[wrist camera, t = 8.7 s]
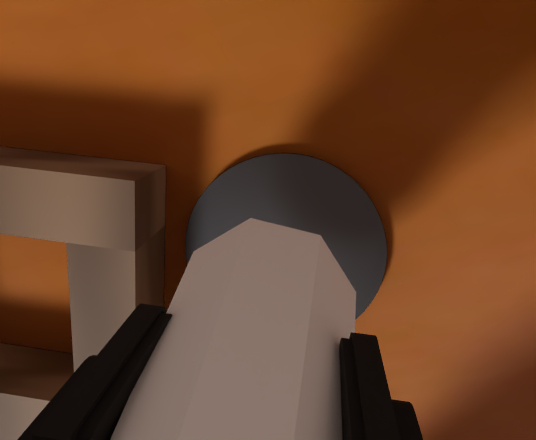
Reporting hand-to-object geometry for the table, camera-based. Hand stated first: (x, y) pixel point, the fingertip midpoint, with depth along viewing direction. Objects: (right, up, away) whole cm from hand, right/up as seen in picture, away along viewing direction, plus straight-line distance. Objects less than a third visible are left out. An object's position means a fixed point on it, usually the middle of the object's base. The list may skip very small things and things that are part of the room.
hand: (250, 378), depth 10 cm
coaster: (+1, +2, +8) cm, 8 cm away
